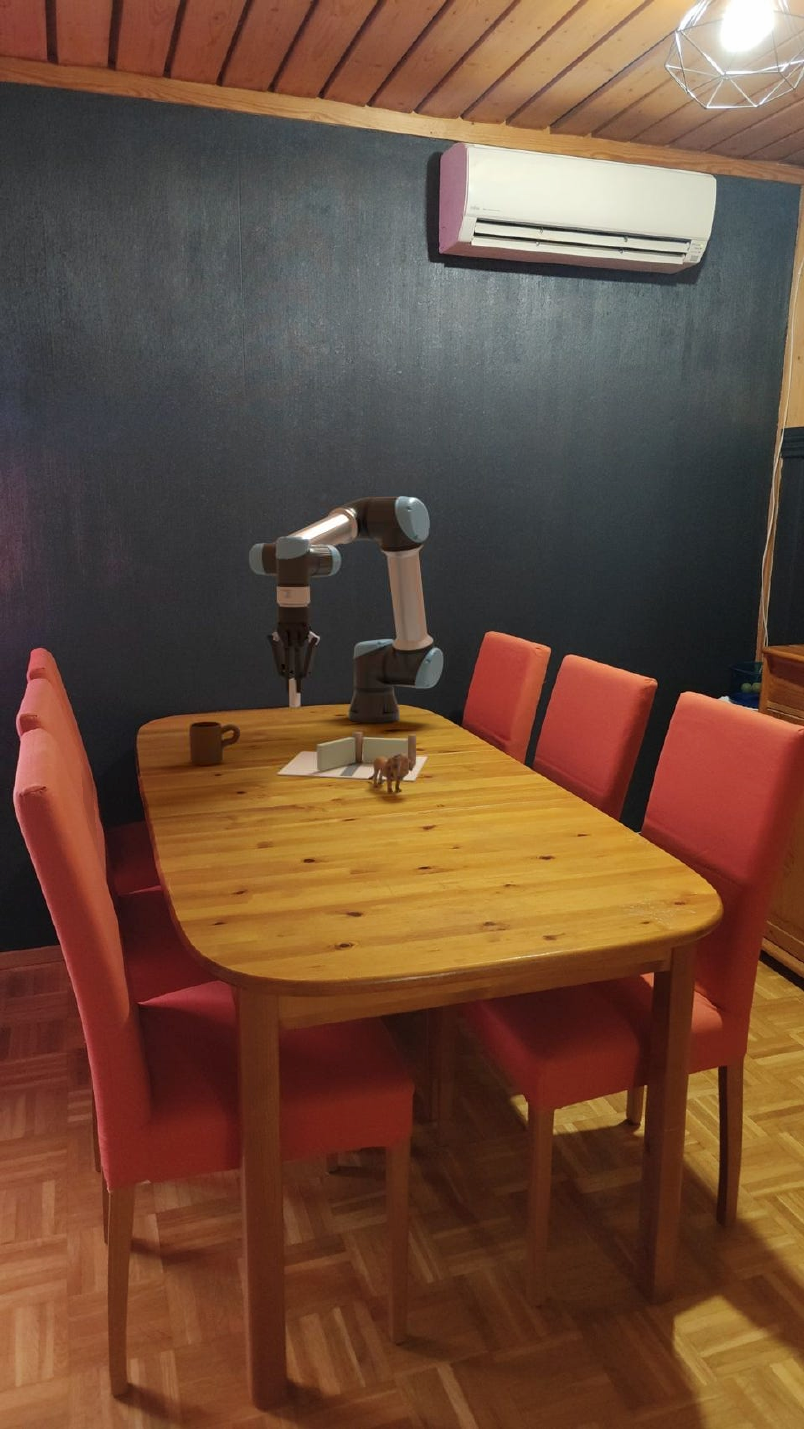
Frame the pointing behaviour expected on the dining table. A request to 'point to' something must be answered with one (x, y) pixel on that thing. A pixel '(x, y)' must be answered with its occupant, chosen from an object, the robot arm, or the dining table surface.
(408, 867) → the dining table surface
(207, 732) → the mug
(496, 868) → the dining table surface
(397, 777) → the lion figurine
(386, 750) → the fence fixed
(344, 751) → the fence panel
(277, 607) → the robot arm
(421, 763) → the card
